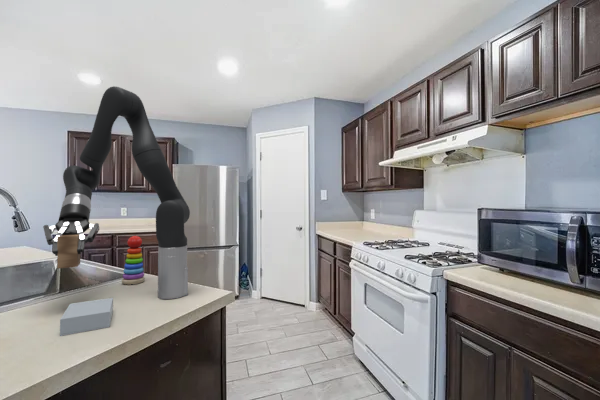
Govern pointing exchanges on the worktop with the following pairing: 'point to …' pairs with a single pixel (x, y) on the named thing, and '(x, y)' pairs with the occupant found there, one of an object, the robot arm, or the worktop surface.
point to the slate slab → (86, 316)
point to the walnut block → (68, 251)
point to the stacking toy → (133, 262)
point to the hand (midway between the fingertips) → (68, 253)
